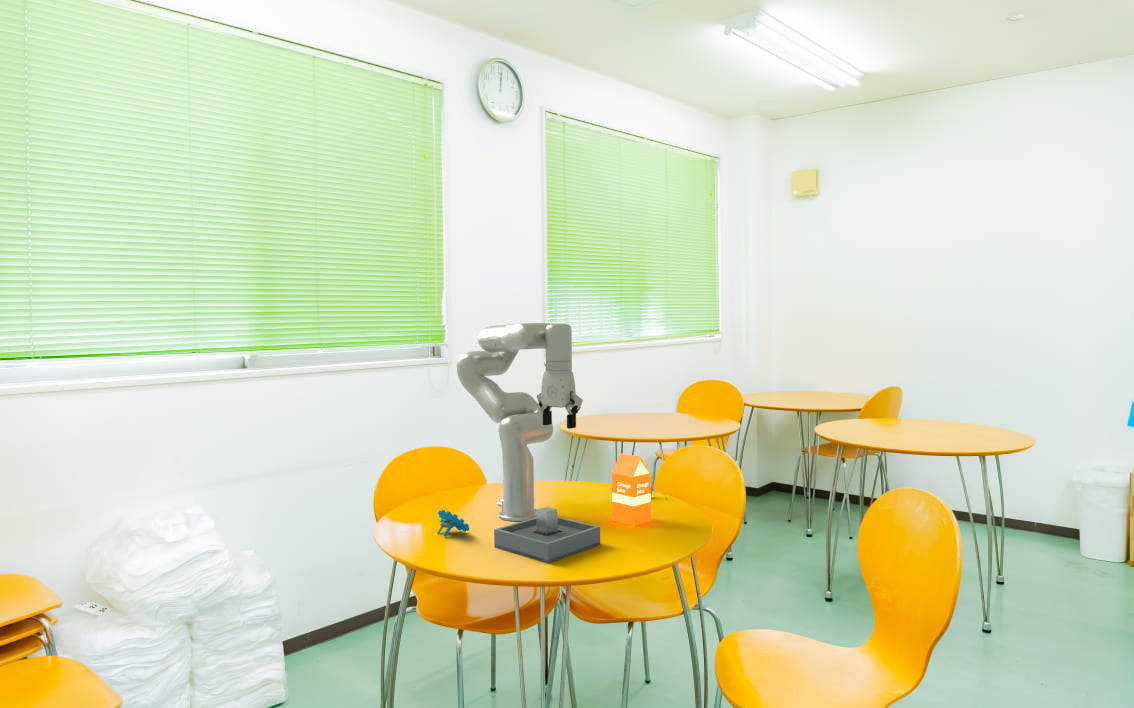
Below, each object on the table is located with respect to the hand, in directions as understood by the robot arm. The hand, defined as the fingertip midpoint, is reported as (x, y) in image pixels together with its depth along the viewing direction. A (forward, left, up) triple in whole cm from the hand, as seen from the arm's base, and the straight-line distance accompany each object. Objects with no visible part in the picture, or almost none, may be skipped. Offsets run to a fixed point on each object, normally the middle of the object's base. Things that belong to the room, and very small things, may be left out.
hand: (559, 426), depth 203 cm
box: (+8, -14, -30) cm, 34 cm away
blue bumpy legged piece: (-19, -21, -31) cm, 42 cm away
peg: (+8, -14, -29) cm, 33 cm away
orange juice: (+10, +20, -30) cm, 38 cm away
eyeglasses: (-1, +42, -31) cm, 52 cm away
